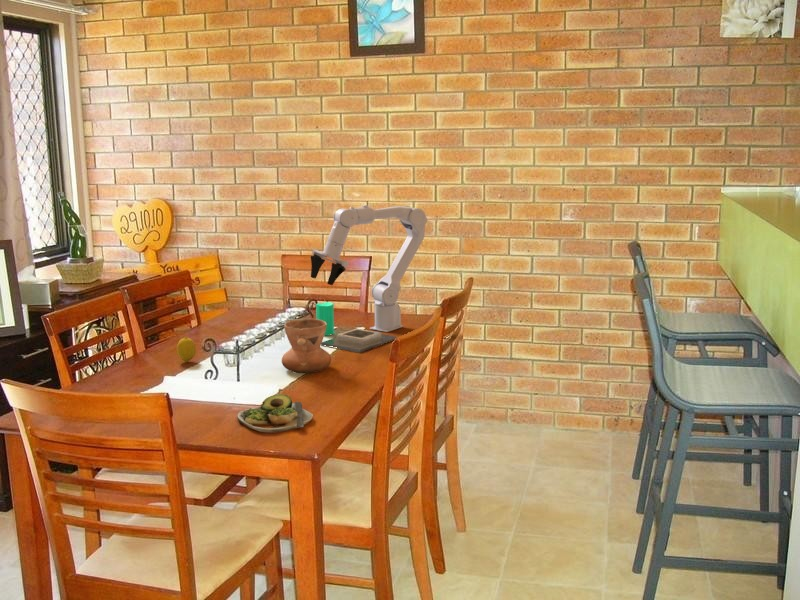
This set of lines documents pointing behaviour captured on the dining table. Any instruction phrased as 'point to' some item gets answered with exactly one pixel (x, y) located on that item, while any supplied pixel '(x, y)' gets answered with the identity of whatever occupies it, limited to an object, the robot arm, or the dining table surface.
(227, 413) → the dining table surface
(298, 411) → the salad plate
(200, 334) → the dining table surface
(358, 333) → the candle base
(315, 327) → the ceramic jug
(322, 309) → the candle
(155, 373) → the dining table surface
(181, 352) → the lemon
